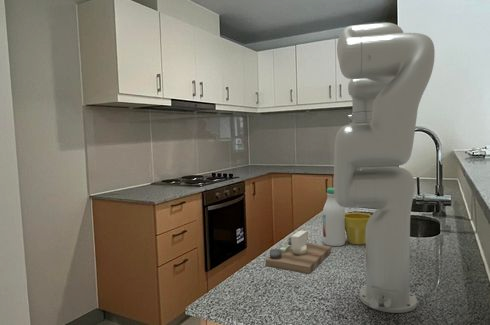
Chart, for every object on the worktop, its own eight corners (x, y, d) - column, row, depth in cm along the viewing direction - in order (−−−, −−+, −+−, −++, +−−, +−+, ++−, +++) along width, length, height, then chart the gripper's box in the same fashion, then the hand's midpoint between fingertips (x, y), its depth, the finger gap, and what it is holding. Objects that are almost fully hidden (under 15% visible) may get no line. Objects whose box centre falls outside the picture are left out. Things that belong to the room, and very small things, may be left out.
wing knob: (301, 256, 108) (301, 237, 108) (288, 254, 110) (288, 235, 110) (311, 248, 116) (311, 230, 115) (299, 246, 118) (298, 228, 117)
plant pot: (342, 237, 134) (342, 211, 133) (371, 238, 131) (371, 212, 130) (342, 245, 124) (342, 218, 123) (373, 247, 121) (373, 219, 120)
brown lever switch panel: (309, 273, 100) (309, 260, 100) (265, 265, 108) (265, 253, 107) (331, 252, 117) (330, 240, 117) (292, 246, 125) (291, 235, 124)
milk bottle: (349, 242, 127) (348, 187, 126) (338, 248, 122) (337, 190, 120) (329, 238, 132) (329, 186, 131) (319, 244, 127) (318, 188, 125)
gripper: (334, 119, 116) (335, 170, 117) (390, 115, 106) (390, 172, 108) (342, 119, 122) (342, 168, 123) (395, 116, 113) (395, 169, 114)
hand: (365, 170), depth 116 cm, fingers open, 9 cm apart
